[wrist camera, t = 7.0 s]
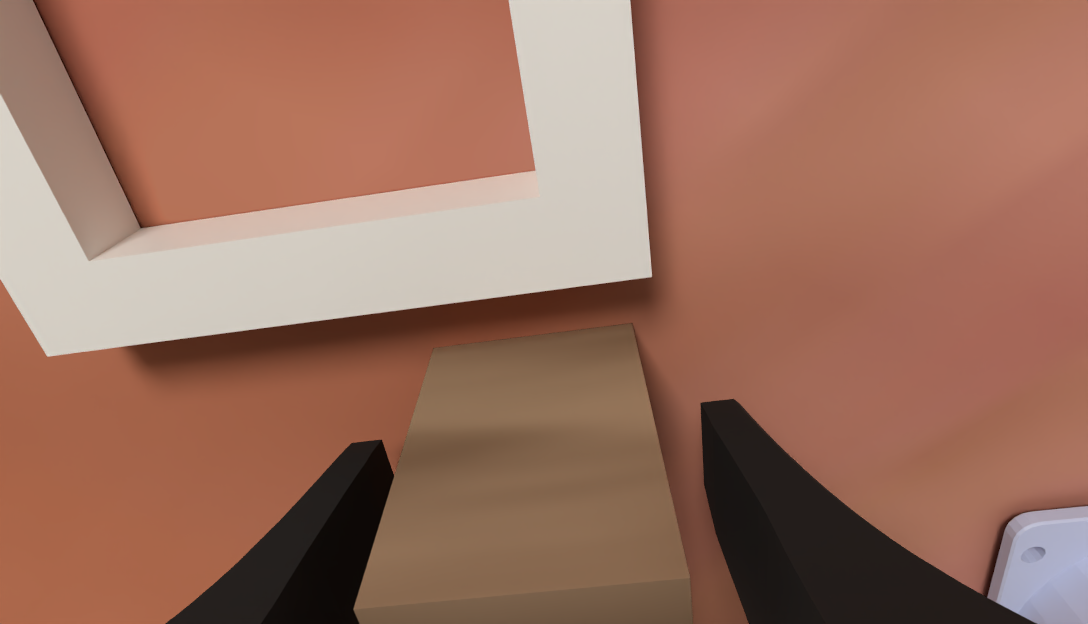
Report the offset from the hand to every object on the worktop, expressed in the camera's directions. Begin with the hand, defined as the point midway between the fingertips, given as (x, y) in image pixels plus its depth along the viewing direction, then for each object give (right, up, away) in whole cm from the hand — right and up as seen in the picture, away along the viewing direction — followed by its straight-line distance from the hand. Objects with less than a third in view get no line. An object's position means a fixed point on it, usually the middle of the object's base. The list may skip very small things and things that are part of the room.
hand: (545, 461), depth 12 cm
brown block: (0, +1, +1) cm, 2 cm away
